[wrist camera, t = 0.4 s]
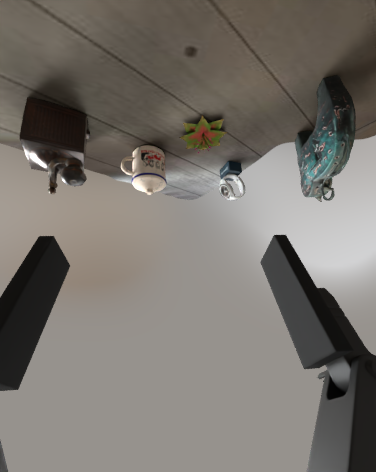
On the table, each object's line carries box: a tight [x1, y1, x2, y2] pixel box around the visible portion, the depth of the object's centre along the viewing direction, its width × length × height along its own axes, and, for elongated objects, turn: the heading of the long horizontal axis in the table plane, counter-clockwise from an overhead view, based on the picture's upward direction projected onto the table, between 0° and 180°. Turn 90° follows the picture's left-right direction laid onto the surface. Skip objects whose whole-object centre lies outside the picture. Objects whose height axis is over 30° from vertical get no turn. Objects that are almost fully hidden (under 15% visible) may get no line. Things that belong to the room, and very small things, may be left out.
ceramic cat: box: [295, 75, 355, 202], centre depth 44 cm, size 20×6×20 cm, turn 12°
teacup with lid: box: [121, 145, 166, 195], centre depth 54 cm, size 12×9×12 cm
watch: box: [219, 161, 245, 200], centre depth 63 cm, size 6×8×11 cm
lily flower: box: [179, 115, 227, 153], centre depth 49 cm, size 12×12×5 cm
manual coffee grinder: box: [20, 97, 90, 194], centre depth 40 cm, size 16×11×18 cm
